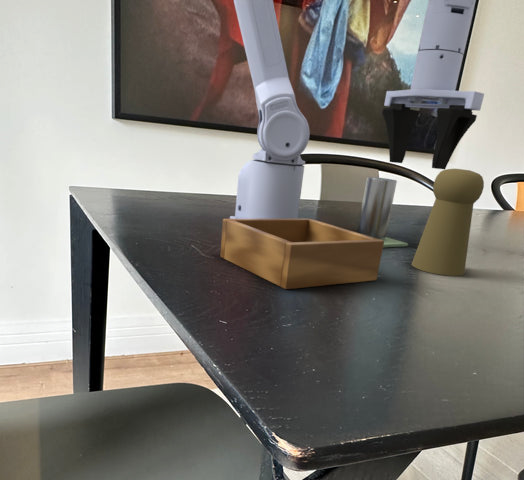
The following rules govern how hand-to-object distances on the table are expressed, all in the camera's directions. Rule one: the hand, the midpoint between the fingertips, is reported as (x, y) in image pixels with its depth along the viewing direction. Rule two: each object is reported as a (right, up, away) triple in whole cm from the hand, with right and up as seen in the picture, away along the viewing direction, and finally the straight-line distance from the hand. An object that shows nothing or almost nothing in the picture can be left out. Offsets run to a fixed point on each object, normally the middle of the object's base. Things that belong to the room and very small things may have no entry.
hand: (416, 165), depth 70 cm
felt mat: (-6, -10, +1) cm, 12 cm away
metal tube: (-6, -10, 0) cm, 12 cm away
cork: (-1, -16, -11) cm, 20 cm away
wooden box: (-18, -17, -18) cm, 31 cm away
